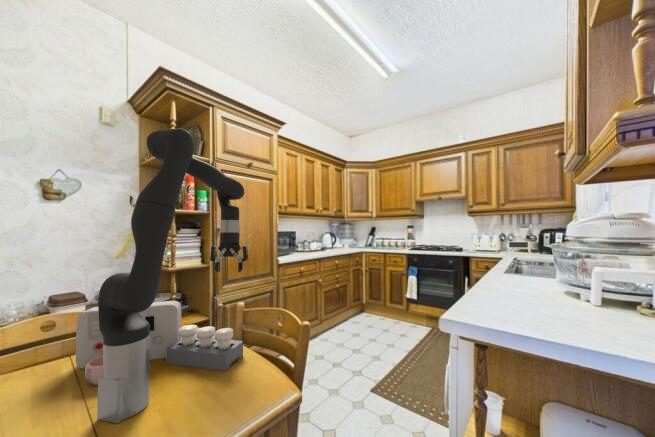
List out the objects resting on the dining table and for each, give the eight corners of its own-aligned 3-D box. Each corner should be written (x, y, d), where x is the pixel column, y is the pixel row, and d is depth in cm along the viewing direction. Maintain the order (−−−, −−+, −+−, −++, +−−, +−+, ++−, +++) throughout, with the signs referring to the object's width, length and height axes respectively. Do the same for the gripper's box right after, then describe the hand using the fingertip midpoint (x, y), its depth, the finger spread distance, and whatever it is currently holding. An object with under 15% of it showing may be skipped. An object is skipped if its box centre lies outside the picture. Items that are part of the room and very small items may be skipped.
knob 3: (226, 354, 83) (226, 335, 83) (211, 352, 85) (211, 333, 85) (236, 346, 89) (236, 328, 89) (221, 344, 90) (222, 327, 90)
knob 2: (207, 352, 85) (207, 333, 85) (192, 350, 86) (192, 332, 86) (218, 344, 90) (218, 327, 90) (204, 343, 92) (204, 325, 92)
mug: (103, 391, 71) (103, 369, 72) (75, 387, 73) (75, 365, 74) (142, 368, 83) (143, 349, 83) (117, 364, 85) (117, 346, 85)
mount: (225, 371, 81) (225, 355, 81) (166, 363, 86) (166, 347, 86) (243, 355, 90) (243, 341, 91) (188, 349, 95) (189, 335, 96)
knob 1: (189, 350, 86) (189, 331, 87) (174, 348, 88) (175, 330, 88) (200, 342, 92) (201, 325, 92) (187, 341, 93) (187, 324, 93)
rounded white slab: (70, 374, 80) (71, 314, 80) (85, 361, 87) (86, 307, 88) (175, 359, 88) (176, 305, 89) (180, 349, 96) (181, 299, 96)
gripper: (208, 231, 101) (207, 273, 101) (245, 231, 102) (244, 273, 101) (215, 231, 109) (214, 270, 108) (250, 231, 110) (249, 270, 109)
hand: (229, 271), depth 105 cm, fingers open, 8 cm apart
